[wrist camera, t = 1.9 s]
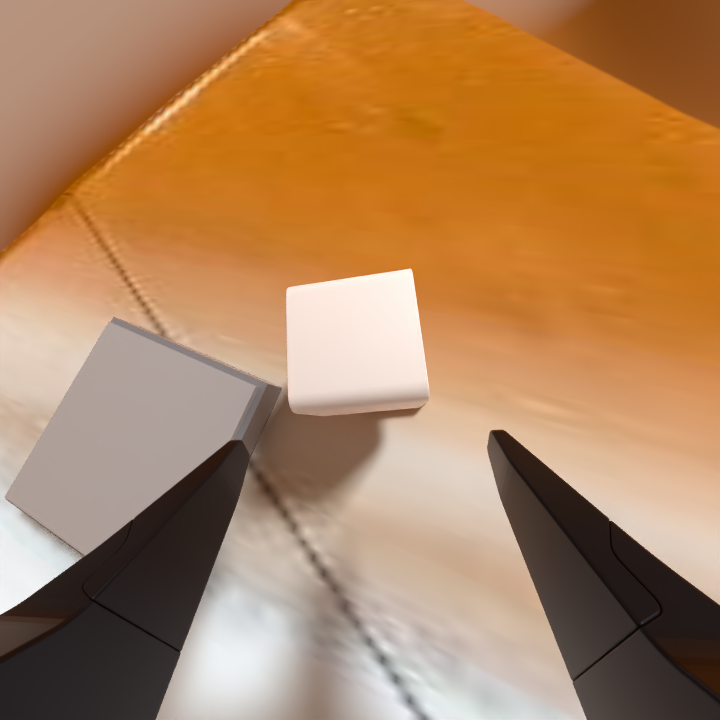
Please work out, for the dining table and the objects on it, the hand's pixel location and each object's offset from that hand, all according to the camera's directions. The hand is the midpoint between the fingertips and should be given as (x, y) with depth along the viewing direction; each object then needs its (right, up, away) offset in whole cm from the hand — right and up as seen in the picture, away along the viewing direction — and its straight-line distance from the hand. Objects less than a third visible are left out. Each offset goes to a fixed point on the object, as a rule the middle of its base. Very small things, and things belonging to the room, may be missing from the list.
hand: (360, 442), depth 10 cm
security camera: (+1, +2, +12) cm, 12 cm away
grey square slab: (-17, -4, +13) cm, 22 cm away
